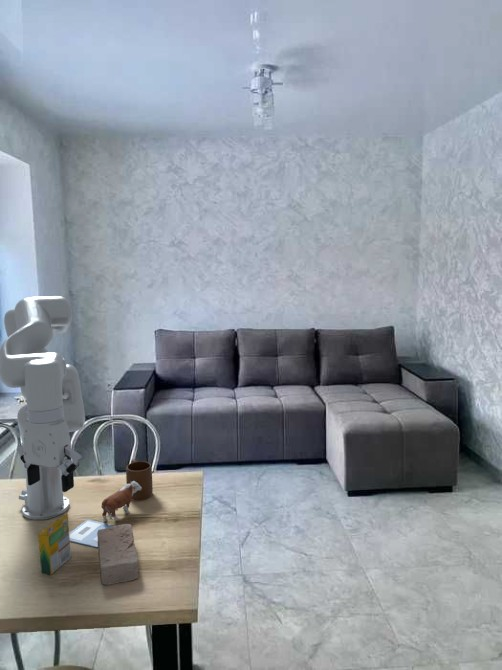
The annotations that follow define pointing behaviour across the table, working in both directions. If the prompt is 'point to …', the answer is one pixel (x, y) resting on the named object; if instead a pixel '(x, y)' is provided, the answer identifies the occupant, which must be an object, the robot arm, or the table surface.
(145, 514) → the table surface
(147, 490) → the mug
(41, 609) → the table surface
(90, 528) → the plan sheet
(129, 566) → the brick
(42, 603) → the table surface
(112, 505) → the bull figurine
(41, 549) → the crayon box
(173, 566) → the table surface
